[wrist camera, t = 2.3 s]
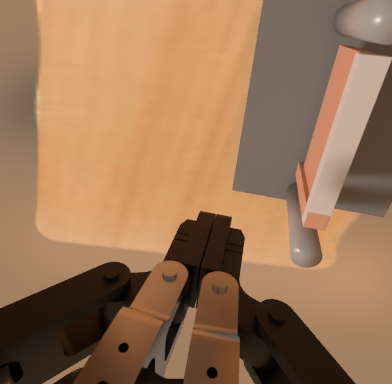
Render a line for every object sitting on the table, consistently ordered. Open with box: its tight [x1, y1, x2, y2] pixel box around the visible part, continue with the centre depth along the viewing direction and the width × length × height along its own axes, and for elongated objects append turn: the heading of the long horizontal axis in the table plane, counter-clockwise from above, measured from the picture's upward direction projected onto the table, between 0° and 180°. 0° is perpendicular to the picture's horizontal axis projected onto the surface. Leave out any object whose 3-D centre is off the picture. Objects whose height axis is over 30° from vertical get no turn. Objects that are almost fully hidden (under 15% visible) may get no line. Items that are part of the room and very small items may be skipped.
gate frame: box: [232, 0, 392, 267], centre depth 20 cm, size 18×14×10 cm
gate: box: [295, 45, 392, 231], centre depth 20 cm, size 10×1×8 cm, turn 175°
